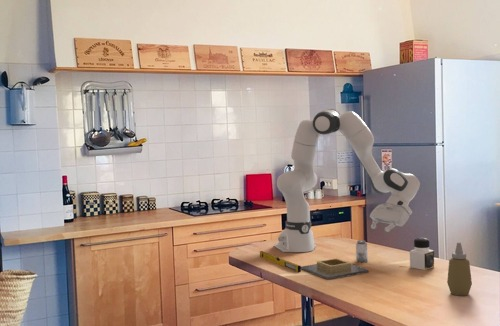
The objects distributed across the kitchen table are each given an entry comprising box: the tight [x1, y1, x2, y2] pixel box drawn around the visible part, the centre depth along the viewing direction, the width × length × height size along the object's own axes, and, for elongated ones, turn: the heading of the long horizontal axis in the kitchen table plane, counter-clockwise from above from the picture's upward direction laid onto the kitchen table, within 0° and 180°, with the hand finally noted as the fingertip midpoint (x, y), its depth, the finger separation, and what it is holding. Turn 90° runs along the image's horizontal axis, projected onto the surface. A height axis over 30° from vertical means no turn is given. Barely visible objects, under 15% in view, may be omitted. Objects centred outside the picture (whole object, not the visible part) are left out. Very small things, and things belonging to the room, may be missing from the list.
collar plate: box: [301, 257, 369, 280], centre depth 233 cm, size 20×20×4 cm
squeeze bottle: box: [446, 242, 473, 297], centre depth 196 cm, size 8×8×18 cm
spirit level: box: [259, 250, 302, 273], centre depth 247 cm, size 33×1×3 cm, turn 27°
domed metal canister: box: [355, 239, 368, 264], centre depth 246 cm, size 5×5×9 cm
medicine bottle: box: [409, 237, 435, 271], centre depth 233 cm, size 7×7×12 cm
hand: (379, 229), depth 250 cm, fingers open, 8 cm apart
